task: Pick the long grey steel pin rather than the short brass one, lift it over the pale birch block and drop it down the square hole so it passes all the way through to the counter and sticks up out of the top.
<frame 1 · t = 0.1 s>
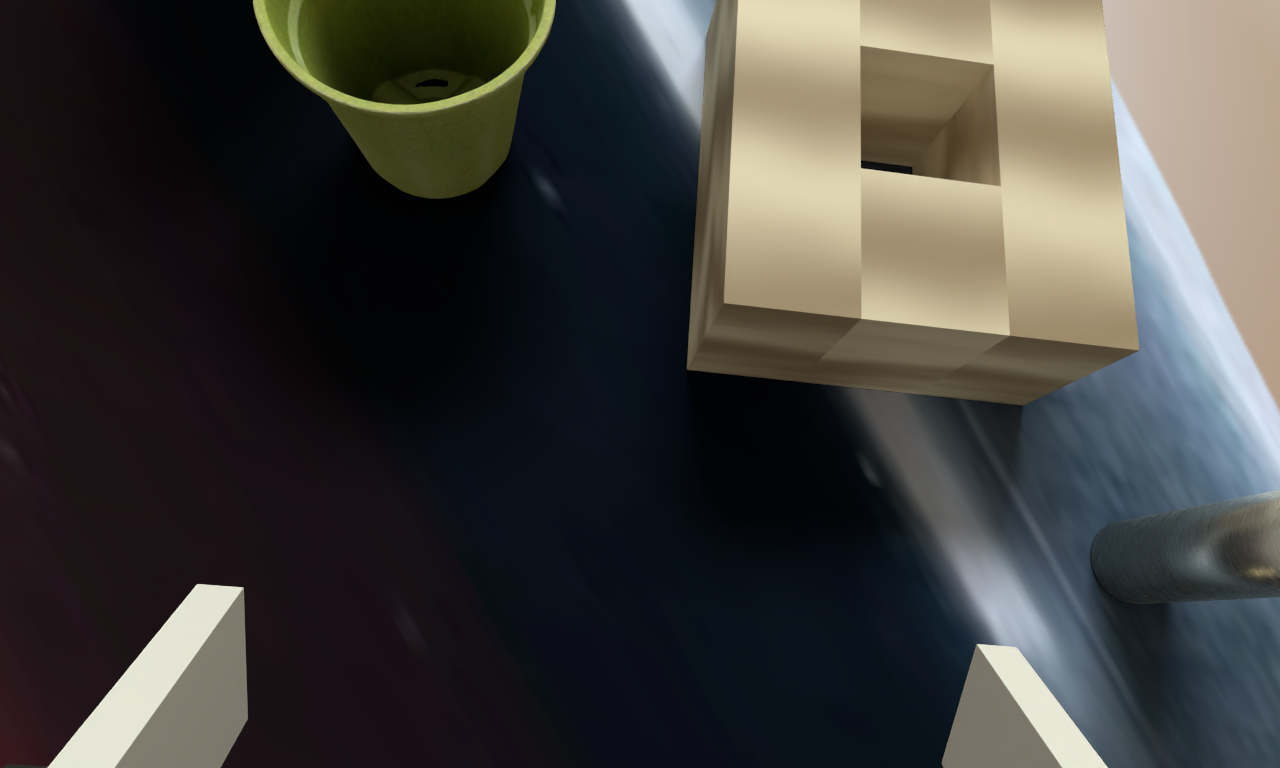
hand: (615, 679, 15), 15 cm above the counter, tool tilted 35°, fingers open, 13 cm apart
steel pin: (1129, 562, 33), on the counter
plant pot: (438, 139, 35), on the counter
birch block: (857, 210, 36), on the counter
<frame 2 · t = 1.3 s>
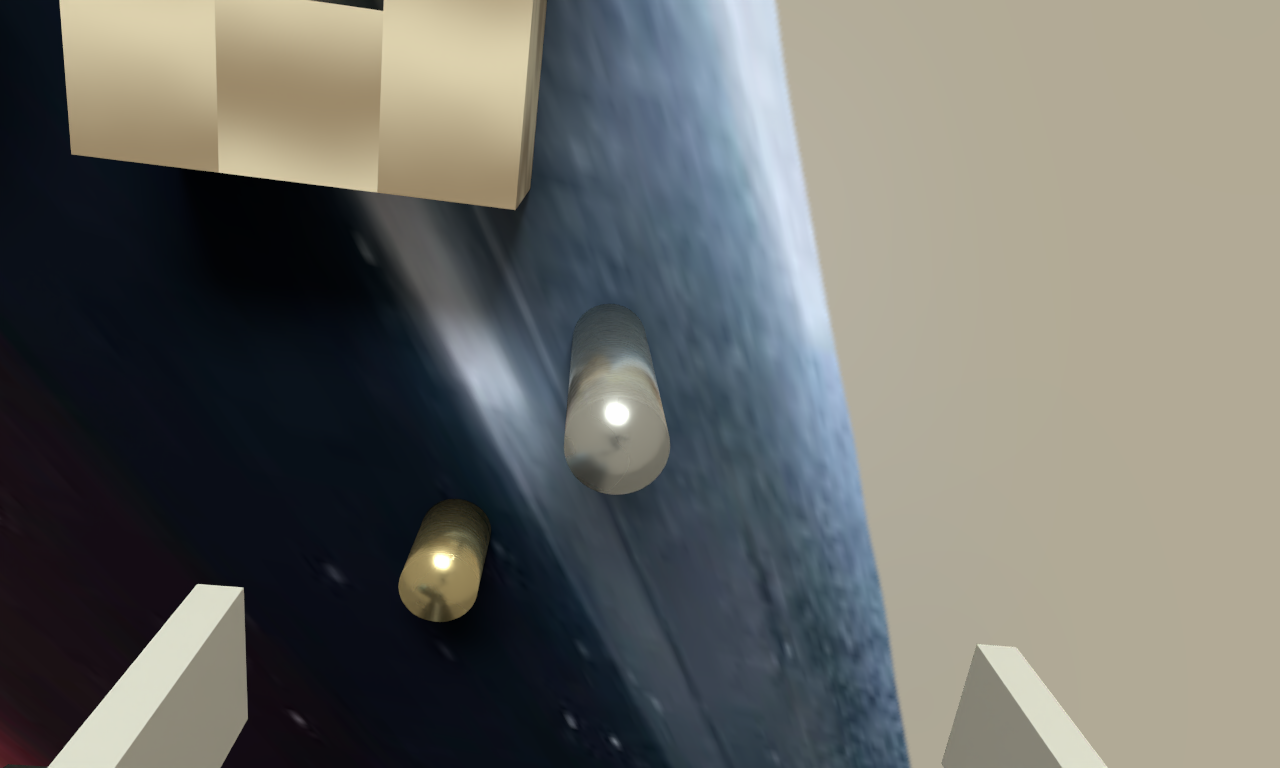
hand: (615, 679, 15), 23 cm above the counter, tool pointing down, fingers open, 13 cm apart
steel pin: (609, 339, 37), on the counter
brass pin: (456, 529, 39), on the counter
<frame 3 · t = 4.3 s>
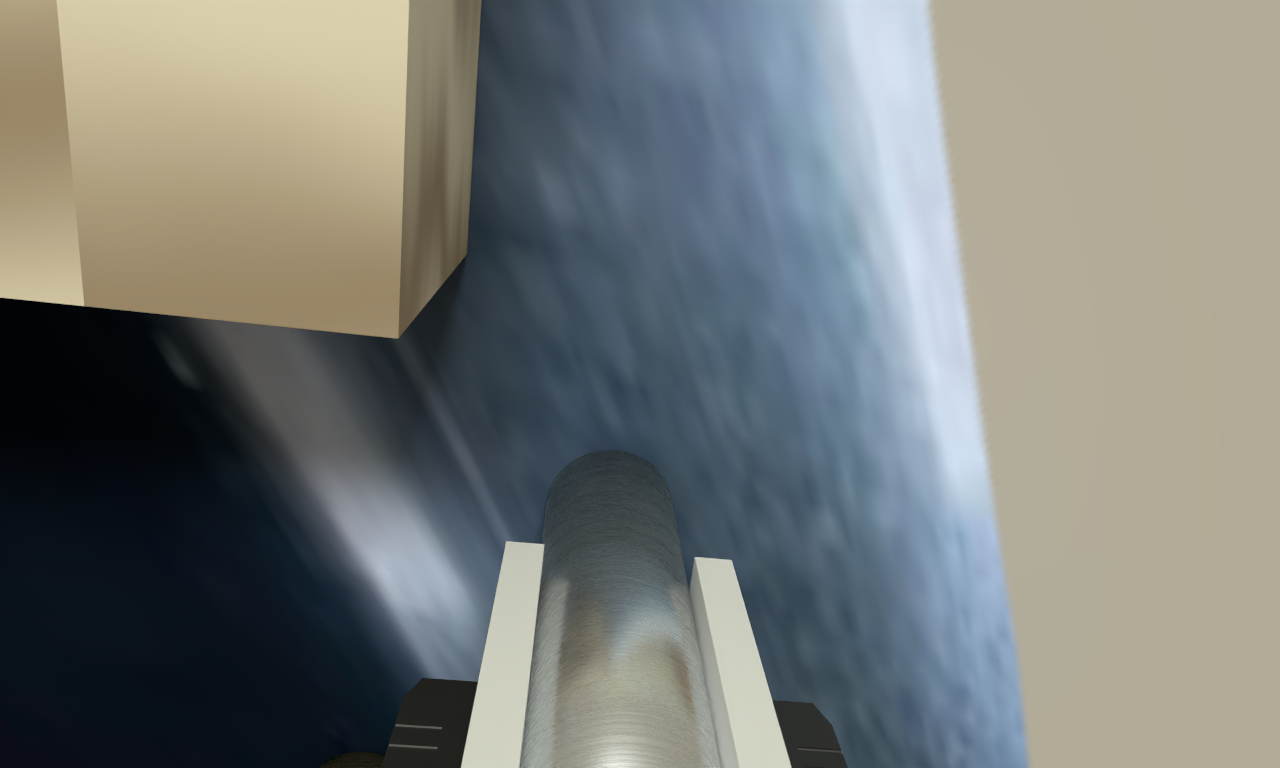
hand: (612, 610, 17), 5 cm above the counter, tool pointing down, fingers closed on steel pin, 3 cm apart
steel pin: (609, 508, 21), on the counter, touching gripper
when the fingers open (12 cm above the counter, at t = 8.9 s): steel pin drops 8 cm, on the counter.
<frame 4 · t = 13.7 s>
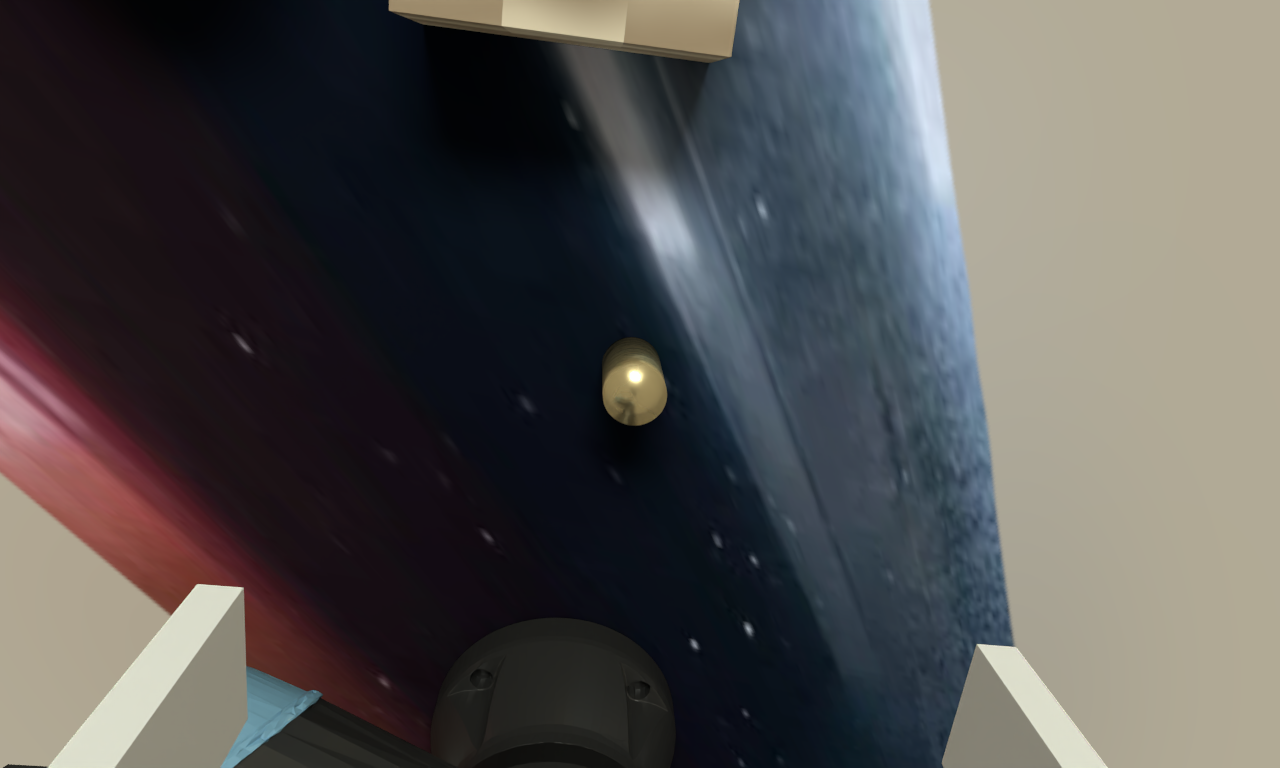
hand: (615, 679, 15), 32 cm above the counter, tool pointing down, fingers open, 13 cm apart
brass pin: (631, 365, 47), on the counter
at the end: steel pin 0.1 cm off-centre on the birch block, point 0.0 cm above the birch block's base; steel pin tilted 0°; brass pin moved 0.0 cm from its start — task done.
